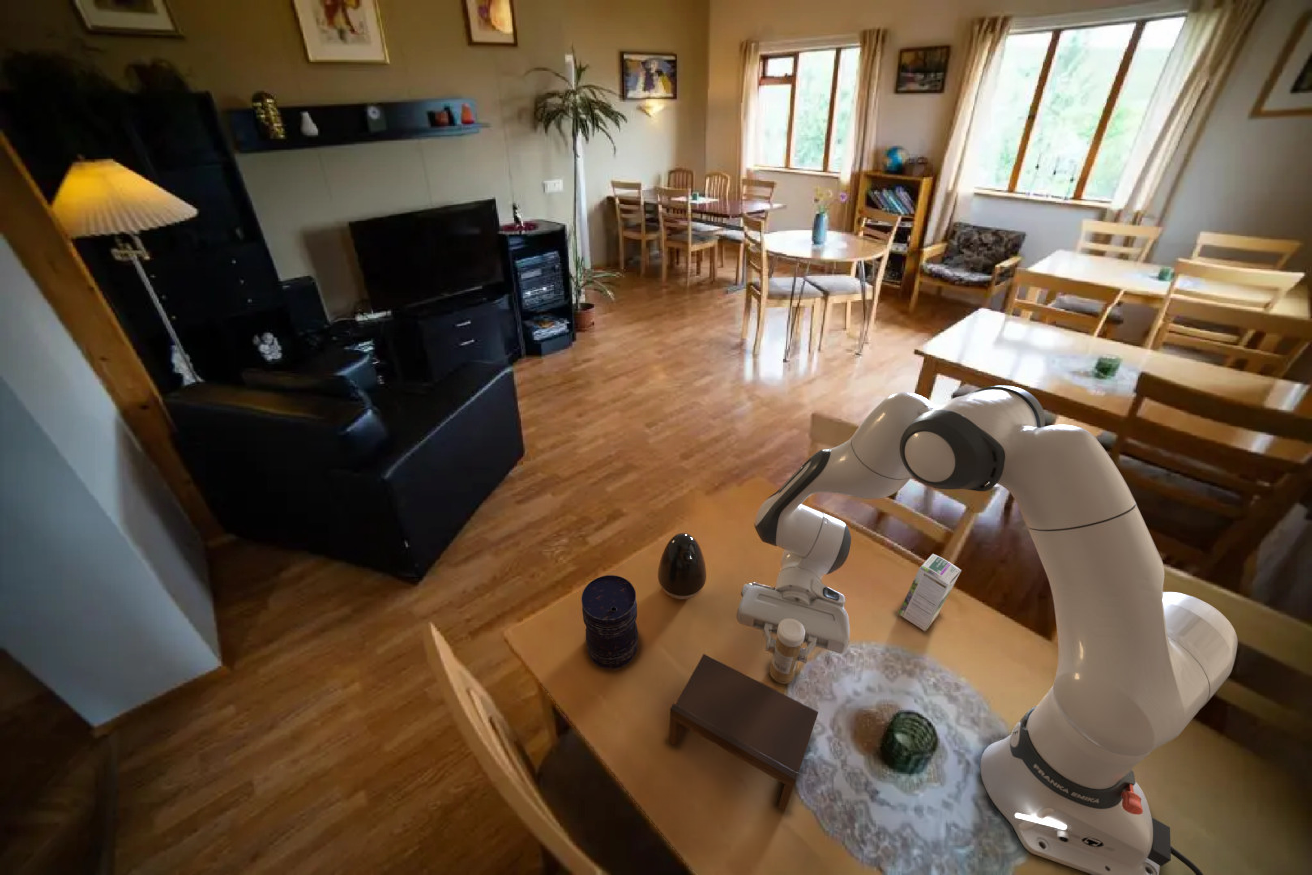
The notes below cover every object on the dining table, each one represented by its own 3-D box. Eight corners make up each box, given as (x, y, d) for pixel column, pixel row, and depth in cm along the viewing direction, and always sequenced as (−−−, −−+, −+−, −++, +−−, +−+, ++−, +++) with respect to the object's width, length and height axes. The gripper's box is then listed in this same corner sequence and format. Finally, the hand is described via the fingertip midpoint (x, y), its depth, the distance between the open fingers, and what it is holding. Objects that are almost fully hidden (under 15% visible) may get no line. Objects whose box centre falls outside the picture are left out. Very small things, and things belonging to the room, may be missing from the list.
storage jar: (581, 633, 105) (574, 583, 96) (628, 617, 108) (625, 568, 99) (595, 677, 97) (589, 628, 89) (645, 659, 100) (644, 609, 92)
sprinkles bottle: (799, 676, 97) (811, 632, 90) (781, 689, 95) (792, 645, 88) (781, 657, 101) (791, 612, 93) (763, 669, 98) (772, 625, 91)
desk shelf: (809, 739, 88) (820, 706, 82) (785, 811, 80) (796, 780, 74) (701, 682, 97) (704, 647, 90) (669, 741, 88) (670, 708, 82)
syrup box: (910, 598, 112) (931, 551, 103) (938, 616, 108) (962, 568, 100) (897, 614, 108) (917, 566, 100) (926, 633, 105) (949, 585, 96)
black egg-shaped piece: (664, 612, 109) (665, 562, 100) (653, 573, 117) (652, 524, 108) (712, 602, 111) (716, 552, 102) (697, 565, 119) (700, 515, 110)
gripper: (746, 569, 105) (729, 626, 94) (854, 598, 99) (849, 663, 89) (743, 590, 109) (726, 647, 98) (847, 619, 103) (841, 683, 92)
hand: (786, 655), depth 93 cm, fingers closed on sprinkles bottle, 4 cm apart
